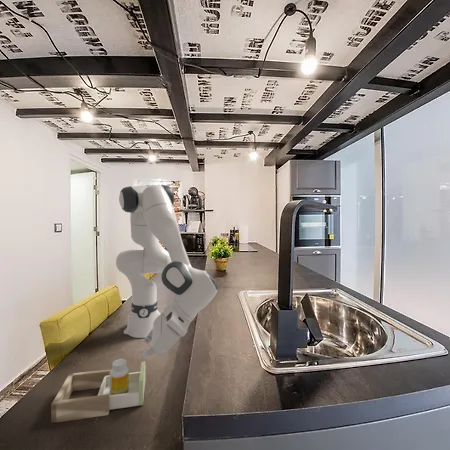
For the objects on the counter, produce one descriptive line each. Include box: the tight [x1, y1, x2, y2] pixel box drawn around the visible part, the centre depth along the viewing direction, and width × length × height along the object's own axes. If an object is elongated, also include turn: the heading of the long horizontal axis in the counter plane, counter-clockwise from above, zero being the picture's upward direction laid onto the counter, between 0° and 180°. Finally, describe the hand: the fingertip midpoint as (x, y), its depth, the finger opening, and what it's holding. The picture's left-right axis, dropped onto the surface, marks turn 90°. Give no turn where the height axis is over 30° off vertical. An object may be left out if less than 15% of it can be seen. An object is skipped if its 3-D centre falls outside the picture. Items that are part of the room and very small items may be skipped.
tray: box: [96, 360, 147, 411], centre depth 80 cm, size 11×12×7 cm
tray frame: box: [50, 368, 112, 424], centre depth 78 cm, size 14×14×5 cm
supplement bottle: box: [110, 358, 130, 395], centre depth 80 cm, size 5×5×10 cm
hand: (144, 348), depth 81 cm, fingers open, 8 cm apart
